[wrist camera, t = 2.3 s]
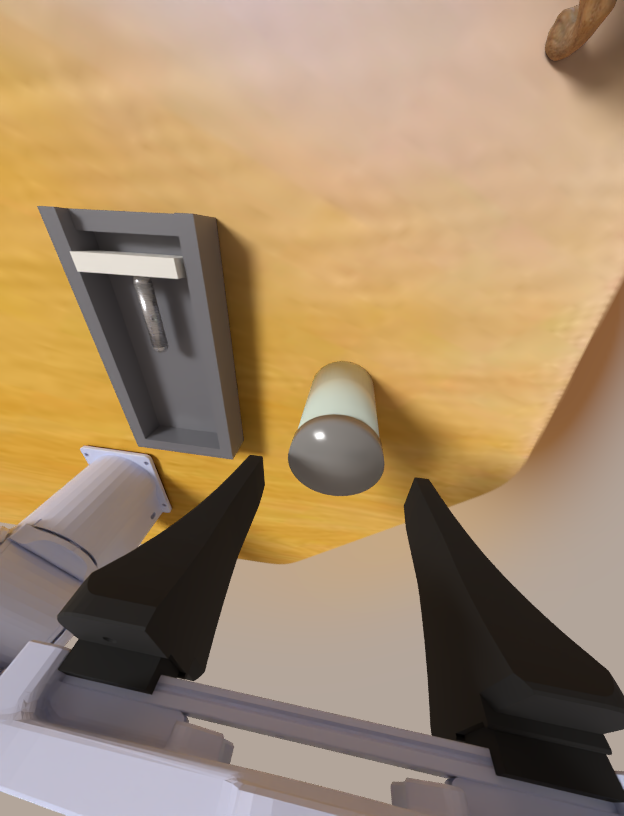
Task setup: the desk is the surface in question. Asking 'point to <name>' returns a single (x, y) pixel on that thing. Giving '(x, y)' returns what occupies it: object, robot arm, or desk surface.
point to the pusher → (137, 280)
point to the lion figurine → (576, 27)
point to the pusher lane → (182, 319)
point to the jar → (338, 433)
